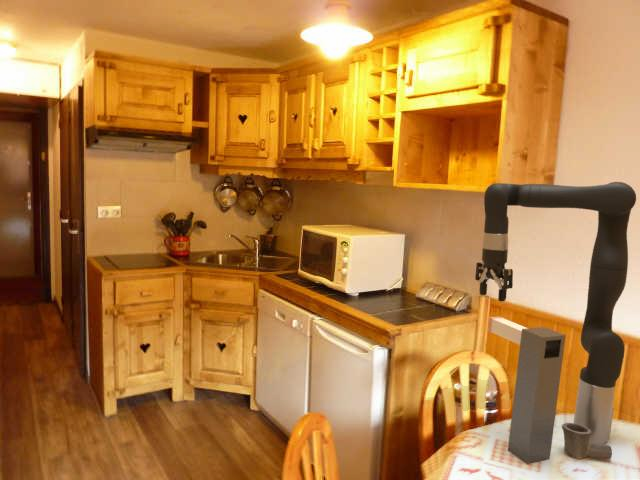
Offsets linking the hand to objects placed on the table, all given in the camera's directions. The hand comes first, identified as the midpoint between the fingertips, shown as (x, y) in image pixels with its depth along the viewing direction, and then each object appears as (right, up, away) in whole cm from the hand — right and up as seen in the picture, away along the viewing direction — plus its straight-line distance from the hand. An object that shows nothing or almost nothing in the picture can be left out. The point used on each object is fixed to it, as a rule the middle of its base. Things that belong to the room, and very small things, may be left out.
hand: (492, 297), depth 157 cm
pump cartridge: (0, -10, -16) cm, 19 cm away
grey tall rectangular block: (+2, -40, -21) cm, 46 cm away
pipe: (+18, -41, -21) cm, 50 cm away
